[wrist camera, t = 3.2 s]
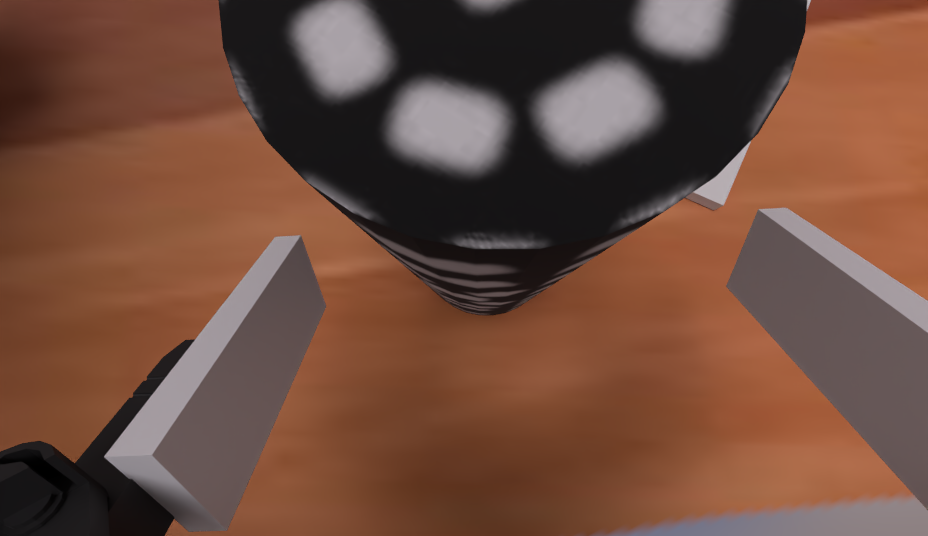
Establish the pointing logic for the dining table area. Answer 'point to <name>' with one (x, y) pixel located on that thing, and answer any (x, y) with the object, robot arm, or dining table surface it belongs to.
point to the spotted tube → (508, 119)
